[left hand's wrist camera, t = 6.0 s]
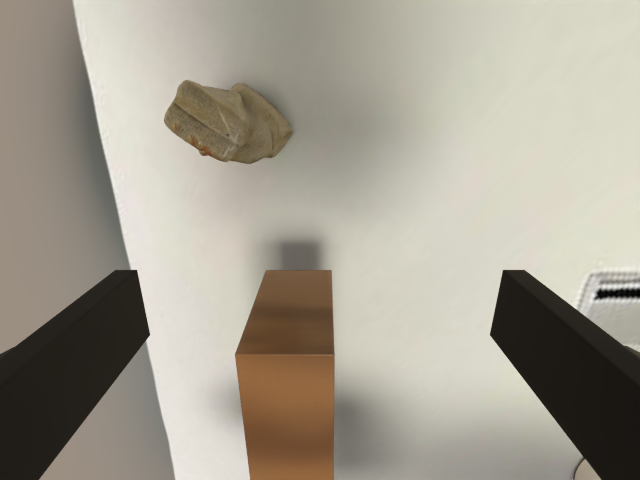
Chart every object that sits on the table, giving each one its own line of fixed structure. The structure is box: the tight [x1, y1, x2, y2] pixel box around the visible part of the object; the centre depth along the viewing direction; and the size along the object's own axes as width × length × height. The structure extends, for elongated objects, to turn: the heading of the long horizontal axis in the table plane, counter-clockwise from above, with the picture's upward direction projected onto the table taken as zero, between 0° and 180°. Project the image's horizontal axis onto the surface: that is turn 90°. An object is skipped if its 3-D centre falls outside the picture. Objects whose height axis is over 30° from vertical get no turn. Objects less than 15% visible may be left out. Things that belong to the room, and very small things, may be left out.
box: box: [235, 270, 334, 480], centre depth 32 cm, size 27×6×12 cm, turn 1°
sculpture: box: [164, 80, 292, 164], centre depth 29 cm, size 6×7×15 cm
